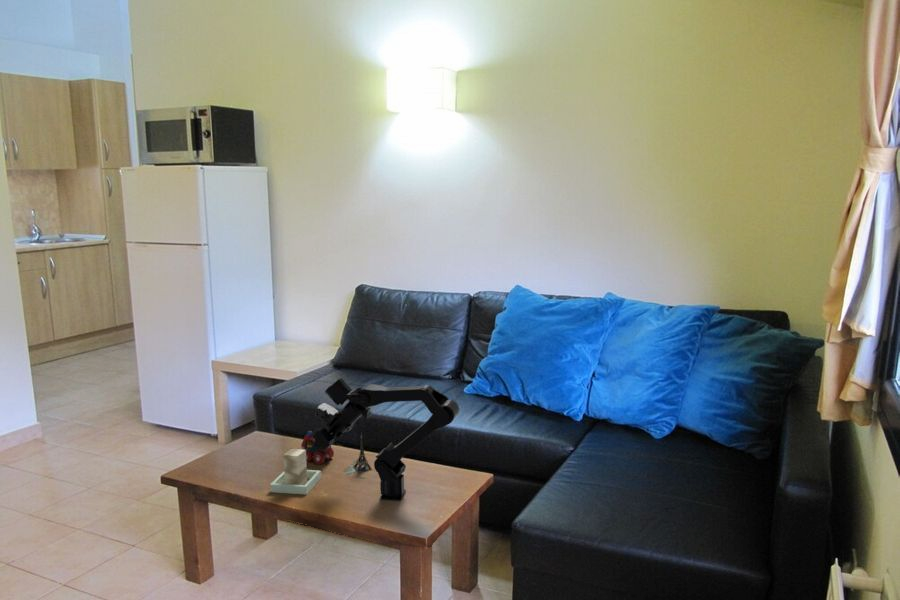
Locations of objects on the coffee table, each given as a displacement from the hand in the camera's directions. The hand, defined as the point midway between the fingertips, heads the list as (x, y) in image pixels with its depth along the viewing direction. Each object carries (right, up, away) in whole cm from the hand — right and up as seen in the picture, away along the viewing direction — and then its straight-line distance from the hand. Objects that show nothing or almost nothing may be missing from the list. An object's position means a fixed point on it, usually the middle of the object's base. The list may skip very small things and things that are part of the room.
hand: (317, 446), depth 210 cm
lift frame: (-8, -13, +4) cm, 16 cm away
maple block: (-8, -13, +4) cm, 16 cm away
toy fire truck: (-5, -10, +25) cm, 27 cm away
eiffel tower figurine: (+12, -12, +17) cm, 24 cm away
